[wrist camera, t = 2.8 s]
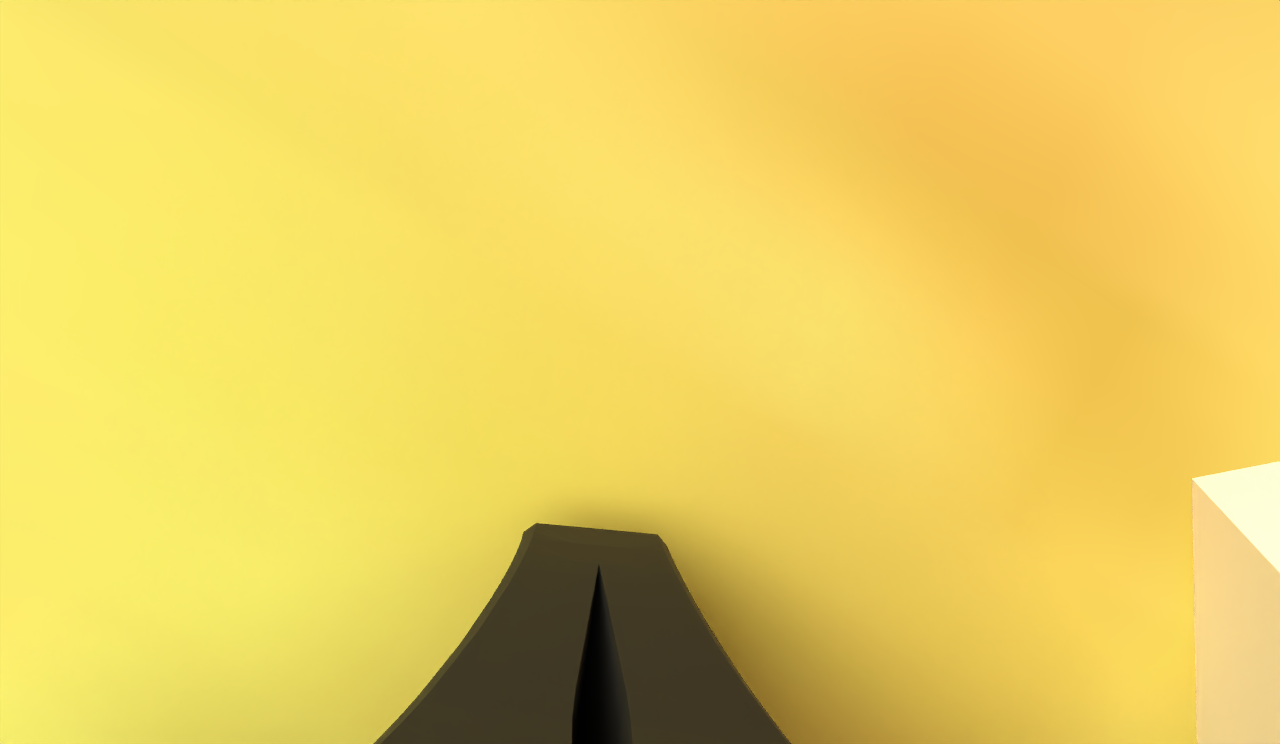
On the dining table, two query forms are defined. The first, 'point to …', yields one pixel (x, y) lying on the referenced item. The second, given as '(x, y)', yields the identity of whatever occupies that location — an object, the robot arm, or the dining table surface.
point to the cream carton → (1237, 605)
